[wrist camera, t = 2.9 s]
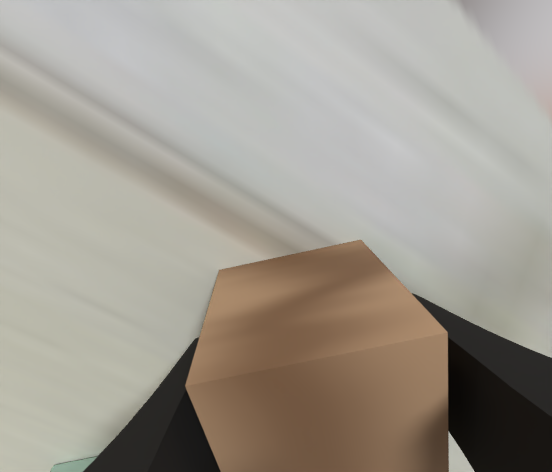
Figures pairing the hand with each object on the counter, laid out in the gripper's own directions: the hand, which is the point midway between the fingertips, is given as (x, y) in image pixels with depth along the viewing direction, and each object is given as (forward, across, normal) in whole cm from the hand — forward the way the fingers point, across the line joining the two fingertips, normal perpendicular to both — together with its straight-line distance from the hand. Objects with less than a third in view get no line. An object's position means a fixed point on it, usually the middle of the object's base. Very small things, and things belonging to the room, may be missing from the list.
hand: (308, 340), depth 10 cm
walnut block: (+2, 0, 0) cm, 2 cm away
